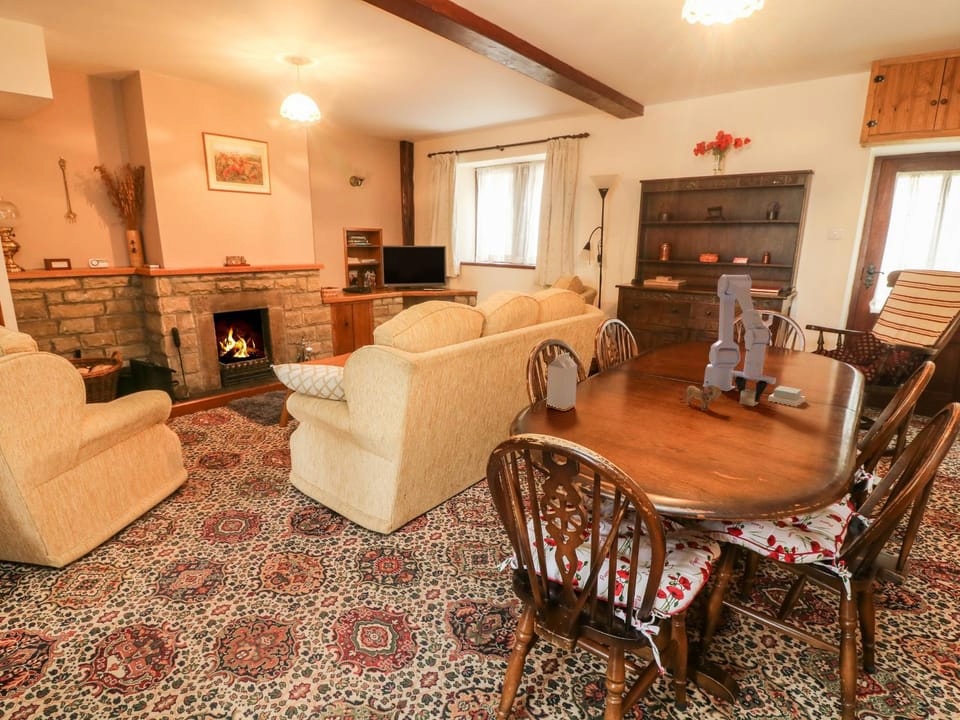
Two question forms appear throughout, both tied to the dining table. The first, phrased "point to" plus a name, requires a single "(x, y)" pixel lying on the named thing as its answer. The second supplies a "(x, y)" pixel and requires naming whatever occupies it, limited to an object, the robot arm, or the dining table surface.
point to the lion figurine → (703, 395)
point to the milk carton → (562, 382)
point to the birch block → (748, 397)
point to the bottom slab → (787, 400)
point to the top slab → (787, 392)
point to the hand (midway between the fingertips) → (749, 399)
